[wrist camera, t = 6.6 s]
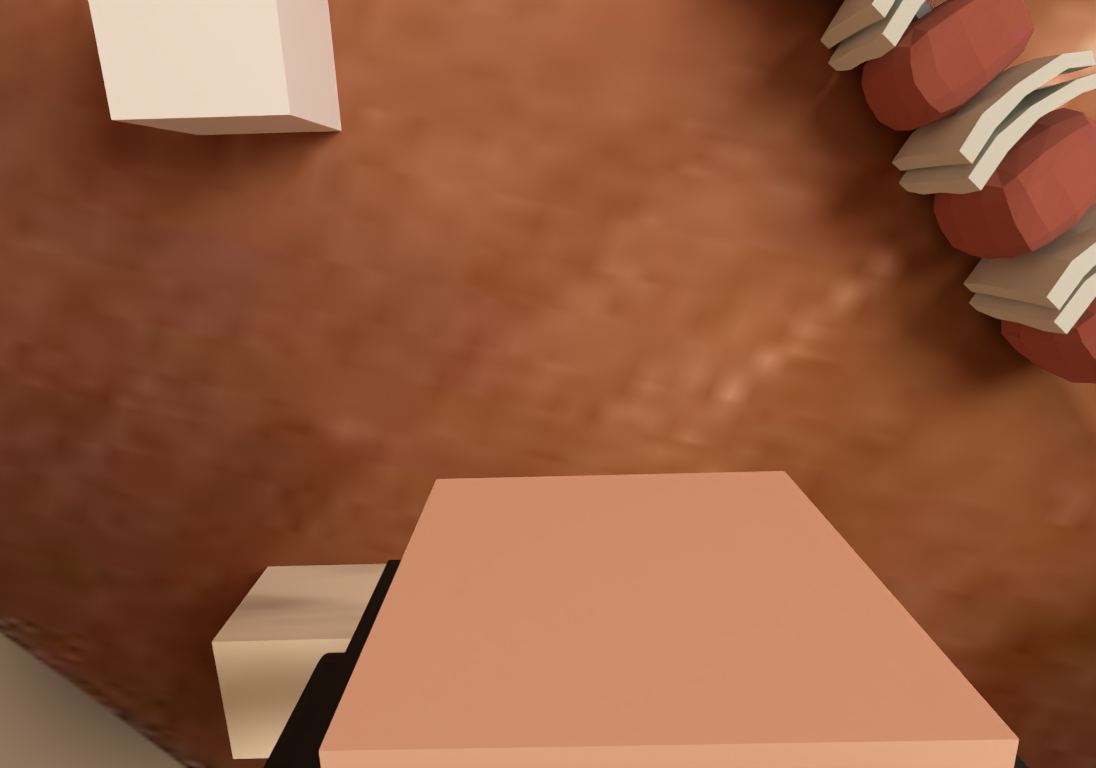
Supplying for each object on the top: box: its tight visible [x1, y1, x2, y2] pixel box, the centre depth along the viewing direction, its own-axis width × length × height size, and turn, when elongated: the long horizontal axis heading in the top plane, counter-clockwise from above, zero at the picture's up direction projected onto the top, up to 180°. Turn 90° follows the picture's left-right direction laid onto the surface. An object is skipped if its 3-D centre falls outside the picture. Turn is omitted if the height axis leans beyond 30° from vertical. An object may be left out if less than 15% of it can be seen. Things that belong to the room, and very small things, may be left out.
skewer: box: [820, 0, 1096, 383], centre depth 22 cm, size 5×5×30 cm
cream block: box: [88, 0, 341, 135], centre depth 20 cm, size 5×5×5 cm
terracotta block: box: [319, 471, 1019, 768], centre depth 8 cm, size 5×5×5 cm
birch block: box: [212, 564, 386, 759], centre depth 26 cm, size 5×5×5 cm
